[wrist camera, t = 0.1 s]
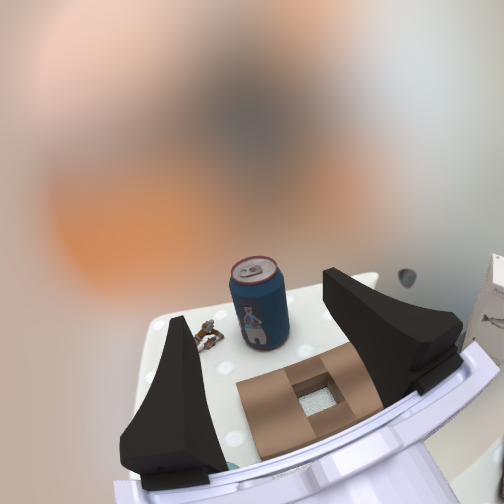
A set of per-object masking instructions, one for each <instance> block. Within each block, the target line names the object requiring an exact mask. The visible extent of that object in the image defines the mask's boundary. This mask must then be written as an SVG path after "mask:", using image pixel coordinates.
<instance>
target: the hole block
mask: <svg viewBox="0 0 504 504" xmlns="http://www.w3.org/2000/svg"><path fill="white" fill-rule="evenodd" d="M236 386H237V389H238V392H239V395H240V399H241V402H242V405H243V408H244V411H245V414H246V417H247V420H248V423H249V426H250V430H251V433H252V435H253V438H254V441H255V444H256V447H257V450H258V453H259V456H260V458H261V460H262V462H264V461H267V460H270V459H273V458H277V457H280V456H283V455H285V454H288V453H291V452H294V451H297V450H299V449H302V448H305V447H307V446H310V445H312V444H315V443H317V442H320V441H322V440H324V439H327V438H329V437H331V436H334V435H336V434H338V433H340V432H342V431H344V430H347V429H349V428H351V427H353V426H355V425H357V424H359V423H361V422H363V421H365V420H367V419H368V418H370V417H372V416H374V415H376V414H378V413H379V412H381V411H383V410H384V407H383V405H382V402H381V400H380V397H379V395H378V392H377V390H376V388H375V386H374V384H373V381H372V379H371V377H370V375H369V373H368V371H367V369H366V367H365V365H364V363H363V362H362V360H361V358H360V356H359V354H358V353H357V351H356V349H355V348H354V346H353V345H352V343H351V342H348V343H345V344H343V345H341V346H338V347H336V348H334V349H331V350H329V351H326V352H324V353H321V354H319V355H316V356H314V357H311V358H309V359H306V360H303V361H301V362H298V363H295V364H292V365H290V366H287V367H284V368H281V369H278V370H275V371H272V372H269V373H266V374H263V375H260V376H257V377H254V378H251V379H247V380H244V381H241V382H237V383H236ZM324 387H328V389H329V390H330V392H331V394H332V396H333V397H334V399H335V401H336V403H337V405H335V406H332V407H330V408H328V409H325V410H323V411H321V412H318V413H316V414H313V415H311V416H308V417H306V415H305V413H304V411H303V409H302V406H301V404H300V402H299V400H298V398H299V397H302V396H305V395H307V394H310V393H312V392H315V391H317V390H320V389H322V388H324Z"/></svg>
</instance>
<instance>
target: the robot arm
mask: <svg viewBox="0 0 504 504" xmlns="http://www.w3.org/2000/svg"><path fill="white" fill-rule="evenodd" d="M323 301H324V303H325V305H326V307H327V309H328V311H329V312H330V314H331V316H332V317H333V319H334V320H335V321H336V323H337V324H338V326H339V327H340V328H341V330H342V331H343V332H344V334H345V335H346V336H347V338H348V339H349V341H350V342H351V343H352V345H353V346H354V348H355V349H356V351H357V353H358V354H359V356H360V358H361V360H362V362H363V363H364V365H365V367H366V369H367V371H368V373H369V375H370V377H371V379H372V381H373V384H374V386H375V388H376V390H377V392H378V395H379V397H380V400H381V402H382V405H383V407H384V410H383V411H381V412H379V413H378V414H376V415H374V416H372V417H370V418H368V419H367V420H365V421H363V422H361V423H359V424H357V425H355V426H353V427H351V428H349V429H347V430H344V431H342V432H340V433H338V434H336V435H334V436H331V437H329V438H327V439H324V440H322V441H320V442H317V443H315V444H312V445H310V446H307V447H305V448H302V449H299V450H297V451H294V452H291V453H288V454H285V455H283V456H280V457H277V458H273V459H270V460H267V461H264V462H260V463H257V464H253V465H250V466H246V467H242V468H238V469H234V470H229V468H228V465H227V463H226V460H225V458H224V455H223V452H222V450H221V447H220V444H219V441H218V438H217V435H216V432H215V429H214V426H213V423H212V419H211V416H210V412H209V409H208V405H207V401H206V395H205V389H204V382H203V376H202V369H201V362H200V357H199V353H198V349H197V345H196V341H195V339H194V337H193V335H192V333H191V331H190V329H189V327H188V325H187V323H186V321H185V318H184V316H183V315H182V316H178V317H175V318H171V320H170V322H169V328H168V333H167V337H166V341H165V345H164V349H163V353H162V356H161V359H160V362H159V365H158V368H157V371H156V374H155V377H154V379H153V382H152V384H151V386H150V389H149V391H148V393H147V395H146V397H145V399H144V401H143V403H142V405H141V406H140V408H139V410H138V411H137V413H136V415H135V416H134V418H133V420H132V421H131V423H130V424H129V425H128V427H127V428H126V430H125V431H124V433H123V434H122V435H121V436H120V459H121V460H120V461H121V464H122V466H124V467H125V468H127V469H129V470H131V471H133V472H135V473H137V474H140V478H141V480H114V481H113V485H114V494H115V501H116V504H460V502H459V500H458V499H457V497H456V495H455V494H454V492H453V490H452V488H451V487H450V485H449V483H448V482H447V480H446V478H445V477H444V475H443V474H442V472H441V470H440V469H439V467H438V465H437V464H436V462H435V460H434V459H433V457H432V455H431V454H430V452H429V451H428V449H427V448H426V446H425V444H424V443H423V441H425V440H426V439H427V438H429V437H430V436H431V435H433V434H434V433H435V432H437V431H438V430H439V429H440V428H442V427H443V426H444V425H445V424H447V423H448V422H449V421H450V420H452V419H453V418H454V417H455V416H456V415H457V414H459V413H460V412H461V411H462V410H463V409H464V408H465V407H466V406H467V405H469V404H470V403H471V402H472V401H473V400H474V399H475V398H476V397H477V396H478V395H479V394H480V393H481V392H482V391H483V390H484V389H485V388H486V386H488V384H489V383H490V382H491V381H492V380H493V379H494V377H495V376H496V375H497V374H498V373H499V371H500V369H499V368H498V367H497V365H496V364H495V363H494V362H493V361H492V359H491V358H490V357H489V356H488V355H487V354H486V352H485V351H484V350H483V349H482V348H481V347H480V346H479V345H478V343H477V342H476V341H474V342H473V343H471V344H470V345H469V346H468V347H467V348H466V349H464V350H463V351H462V352H461V353H460V355H459V354H458V353H457V352H456V351H457V350H458V347H457V346H456V345H455V342H456V341H457V339H458V337H459V335H460V333H461V331H462V329H463V323H462V322H461V321H460V319H459V318H457V316H456V315H455V314H454V313H452V312H445V311H437V310H432V309H427V308H422V307H418V306H414V305H411V304H408V303H405V302H402V301H399V300H396V299H393V298H391V297H389V296H386V295H384V294H382V293H380V292H378V291H376V290H373V289H372V288H370V287H368V286H366V285H364V284H362V283H360V282H358V281H357V280H355V279H353V278H351V277H350V276H348V275H346V274H344V273H343V272H341V271H339V270H337V269H335V268H334V267H333V268H330V269H327V270H324V271H323ZM317 459H318V460H317ZM315 460H316V461H315ZM312 461H314V462H313V463H311V464H310V465H308V466H305V467H303V468H301V469H298V470H296V471H293V472H291V473H288V474H286V475H283V476H281V477H278V478H275V479H274V478H273V477H269V476H272V475H276V474H279V473H282V472H285V471H288V470H291V469H294V468H296V467H299V466H302V465H305V464H307V463H310V462H312Z"/></svg>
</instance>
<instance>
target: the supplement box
mask: <svg viewBox="0 0 504 504" xmlns="http://www.w3.org/2000/svg"><path fill="white" fill-rule="evenodd" d="M474 341H476V342H477V343H478V345H479V346H480V347H481V348H482V349H483V350H484V351H485V352H486V354H487V355H488V356H489V357H490V358H491V359H492V361H493V362H494V363H495V364H496V365H500V364H501V363H502V361H503V360H504V257H502V256H499V255H495V254H492V255H491V259H490V263H489V266H488V269H487V273H486V276H485V279H484V282H483V285H482V288H481V291H480V293H479V296H478V299H477V301H476V304H475V307H474V309H473V312H472V314H471V316H470V319H469V322H468V326H467V331H466V335H465V339H464V343H463V347H462V351H463V350H464V349H466V348H467V347H468V346H469V345H470V344H471V343H473V342H474ZM462 351H461V352H462Z"/></svg>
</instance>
